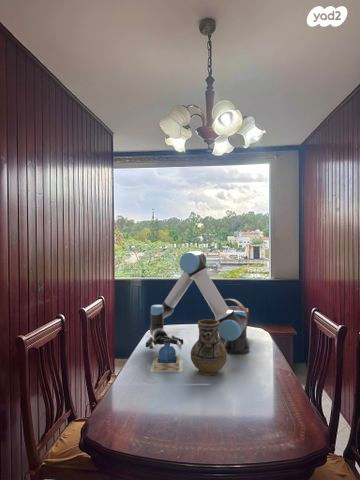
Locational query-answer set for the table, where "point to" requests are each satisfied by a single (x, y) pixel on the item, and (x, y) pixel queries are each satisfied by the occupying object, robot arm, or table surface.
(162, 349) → the perfume bottle
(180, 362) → the felt mat
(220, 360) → the decorative pitcher
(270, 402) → the table surface
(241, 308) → the bucket
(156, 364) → the oak box
